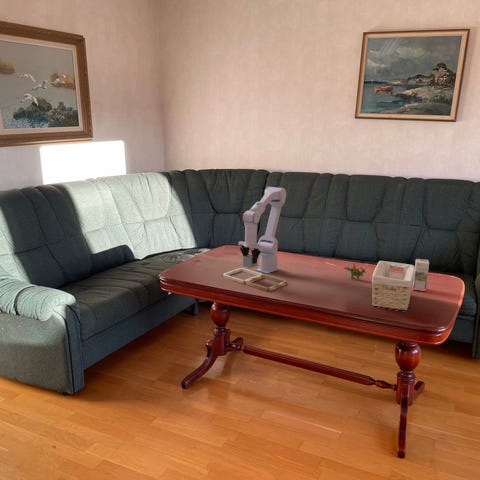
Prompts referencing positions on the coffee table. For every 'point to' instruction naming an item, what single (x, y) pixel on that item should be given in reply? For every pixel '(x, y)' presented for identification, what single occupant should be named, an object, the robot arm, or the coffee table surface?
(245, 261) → the letter cube
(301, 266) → the coffee table surface
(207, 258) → the coffee table surface
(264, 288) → the brown wooden frame
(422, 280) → the syrup box
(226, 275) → the cream square frame
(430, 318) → the coffee table surface
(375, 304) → the storage basket
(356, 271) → the figurine
